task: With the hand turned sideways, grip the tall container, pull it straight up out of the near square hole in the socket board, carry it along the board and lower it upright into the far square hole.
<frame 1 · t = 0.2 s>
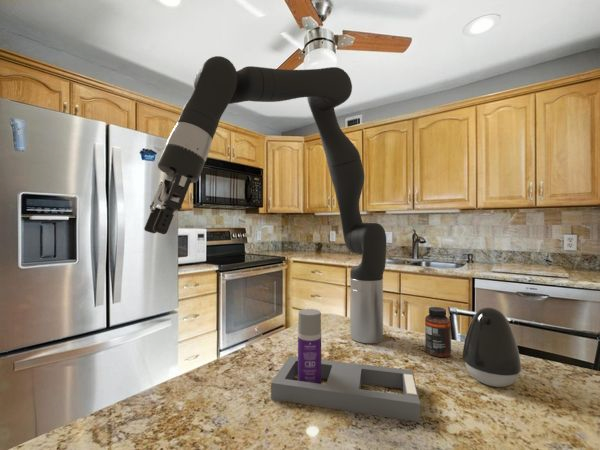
hand: (153, 232, 54), 31 cm above the countertop, tool tilted 20°, fingers open, 8 cm apart
socket board: (344, 391, 58), on the countertop
container: (309, 387, 60), resting in socket board
supplement bottle: (437, 353, 76), on the countertop
pump dispenser: (490, 381, 62), on the countertop
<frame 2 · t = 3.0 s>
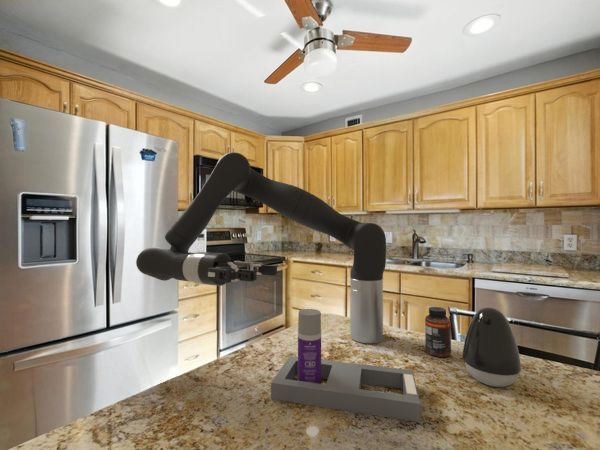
hand: (266, 273, 64), 22 cm above the countertop, tool horizontal, fingers open, 8 cm apart
nothing on the countertop moved.
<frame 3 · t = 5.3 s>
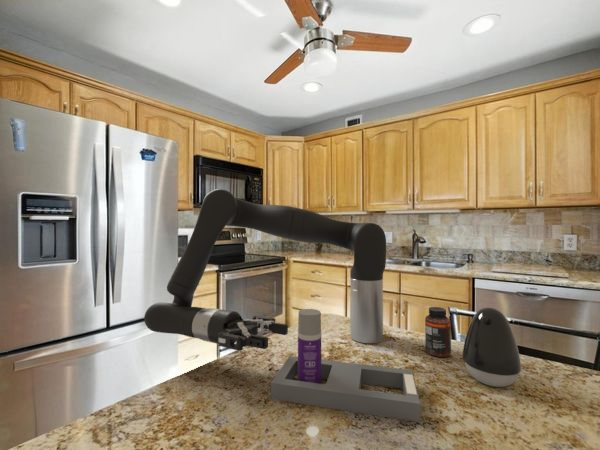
hand: (277, 336, 63), 9 cm above the countertop, tool horizontal, fingers open, 8 cm apart
nothing on the countertop moved.
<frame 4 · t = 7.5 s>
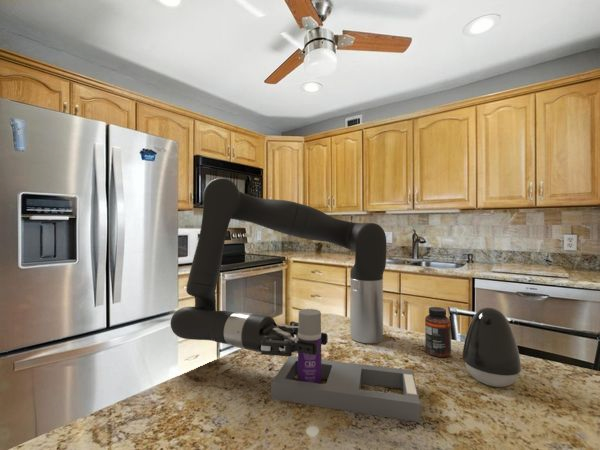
hand: (322, 343, 59), 9 cm above the countertop, tool horizontal, fingers closed on container, 4 cm apart
container: (309, 387, 60), resting in socket board, touching gripper
everything else where it was.
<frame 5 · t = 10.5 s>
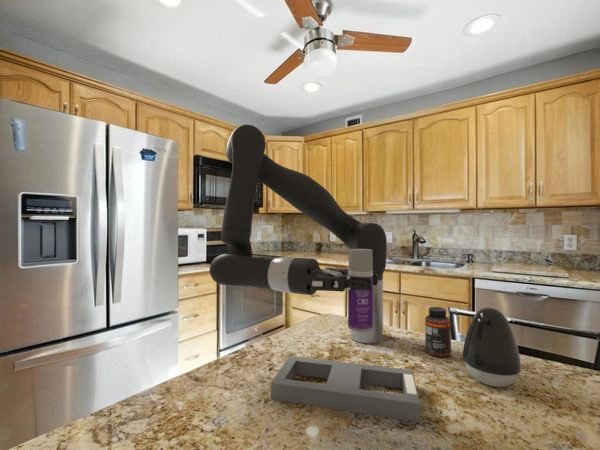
hand: (374, 281, 56), 22 cm above the countertop, tool horizontal, fingers closed on container, 4 cm apart
container: (360, 328, 57), point 12 cm above the countertop, touching gripper
everything else where it was.
when the fingers open (10 cm above the countertop, at t = 13.6 s): container drops 1 cm, resting in socket board.
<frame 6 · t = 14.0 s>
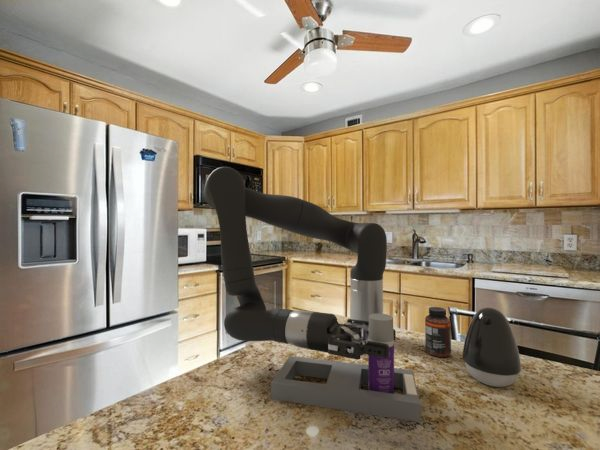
hand: (392, 342, 56), 10 cm above the countertop, tool horizontal, fingers open, 8 cm apart
container: (381, 397, 57), resting in socket board
everything else where it was.
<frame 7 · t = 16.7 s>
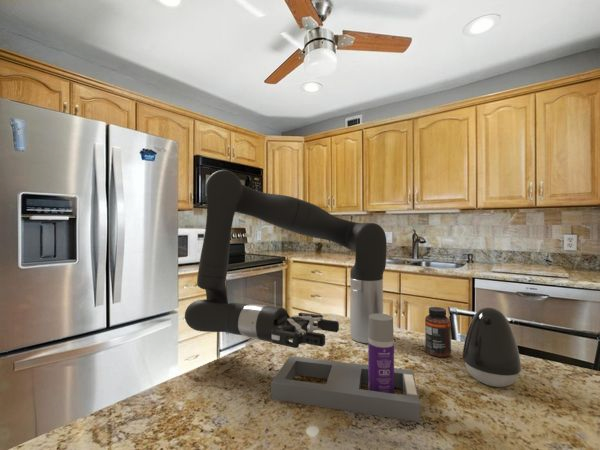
hand: (332, 333, 60), 10 cm above the countertop, tool horizontal, fingers open, 8 cm apart
nothing on the countertop moved.
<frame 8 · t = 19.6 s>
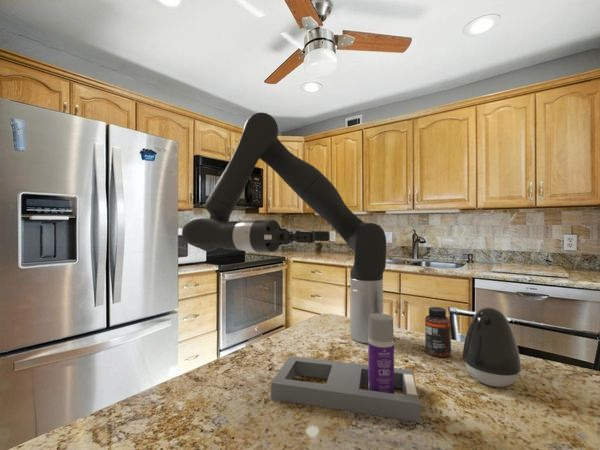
hand: (322, 236, 63), 30 cm above the countertop, tool horizontal, fingers open, 8 cm apart
nothing on the countertop moved.
at the end: container 0.3 cm from the target spot on the socket board, point 0.0 cm above the socket board's base; container tilted 0°; the gripper is holding nothing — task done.
